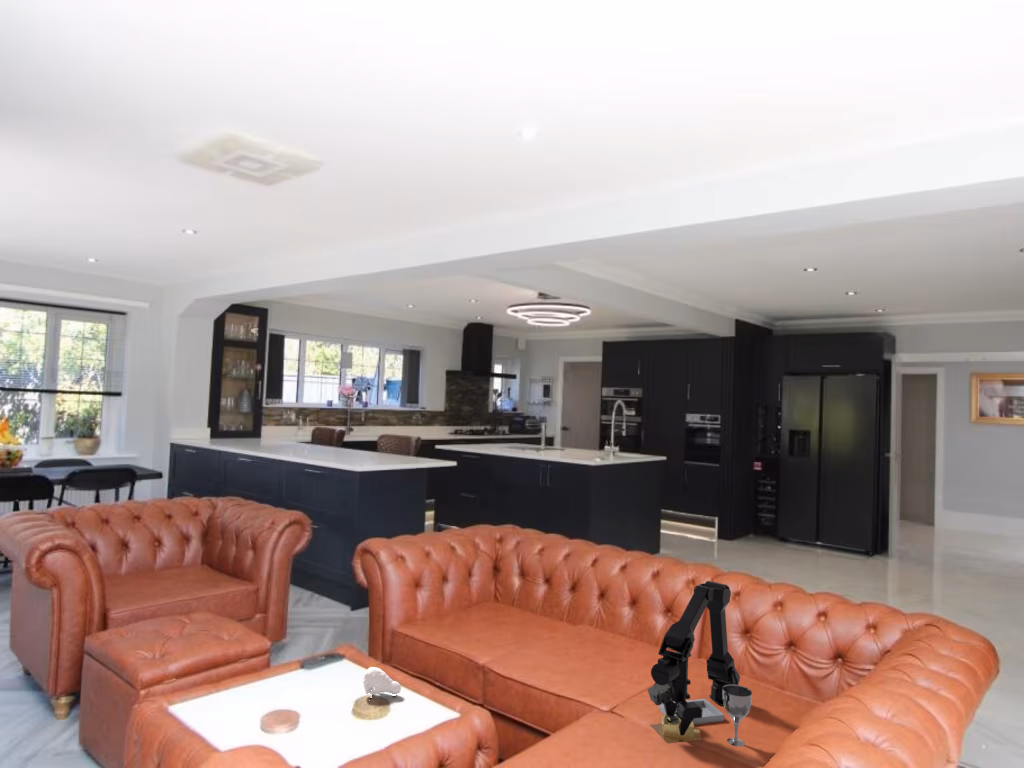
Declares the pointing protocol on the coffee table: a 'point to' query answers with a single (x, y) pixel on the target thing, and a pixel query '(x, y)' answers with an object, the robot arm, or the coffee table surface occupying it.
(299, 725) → the coffee table surface
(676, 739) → the brown peg base plate
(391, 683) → the grey lumpy shape
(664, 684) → the robot arm
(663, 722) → the gold hollow rectangular block
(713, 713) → the tray
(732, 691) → the wine glass
